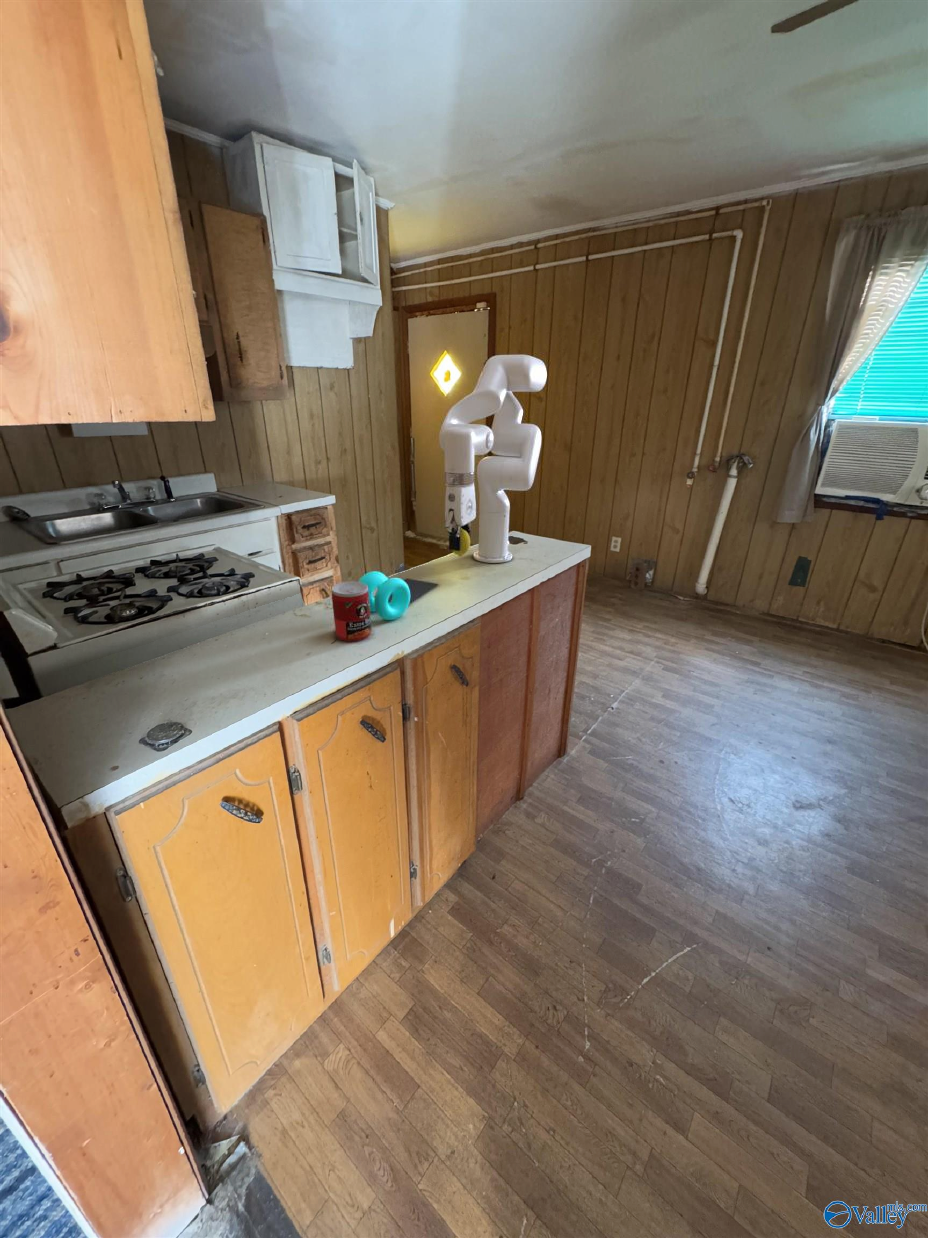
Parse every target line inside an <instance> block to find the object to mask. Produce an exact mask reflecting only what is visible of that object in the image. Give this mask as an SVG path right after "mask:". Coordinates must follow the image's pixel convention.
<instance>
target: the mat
mask: <svg viewBox="0 0 928 1238" xmlns="http://www.w3.org/2000/svg"><path fill="white" fill-rule="evenodd" d="M402 580H403V581H405V582H406V584H407V585H408V587H409V590H410V602H409V605H410V604H412V603H413V602H415V601H416V600H418V599H419V598H421V597H422V596H424V595H425V594H428V592H430V591H431V590H433V589H434V588H436V587H438V585H439V584H438V583H434V582H429V581H423V580H417V579H411V578H405V579H402ZM392 598H393V594H392V593H391V595H390V596H389V599H388V603H390V602H391V600H392Z"/></svg>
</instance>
